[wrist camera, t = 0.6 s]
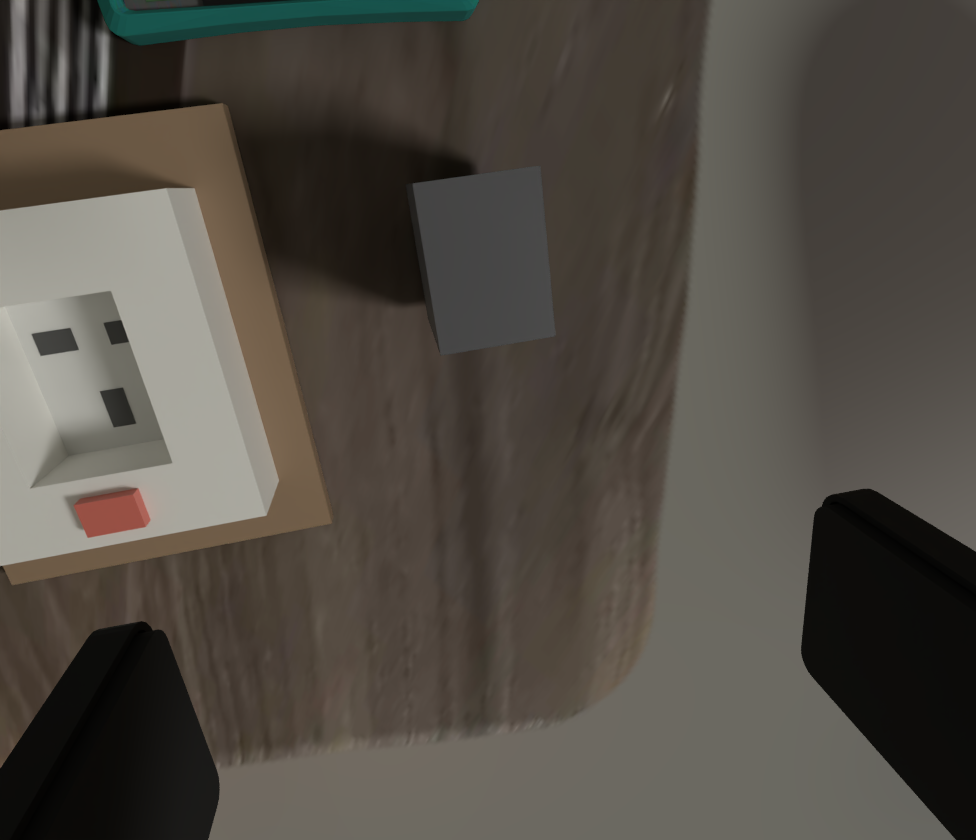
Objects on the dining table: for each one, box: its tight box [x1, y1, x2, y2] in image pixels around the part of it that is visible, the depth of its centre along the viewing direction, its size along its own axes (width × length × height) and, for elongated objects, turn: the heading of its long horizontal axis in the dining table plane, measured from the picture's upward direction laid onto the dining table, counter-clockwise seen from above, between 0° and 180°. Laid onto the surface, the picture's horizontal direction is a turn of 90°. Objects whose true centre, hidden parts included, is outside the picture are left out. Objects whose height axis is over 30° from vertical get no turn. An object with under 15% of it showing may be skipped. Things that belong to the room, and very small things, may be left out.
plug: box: [406, 166, 555, 355], centre depth 26 cm, size 6×4×8 cm
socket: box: [0, 103, 333, 585], centre depth 26 cm, size 20×16×5 cm
